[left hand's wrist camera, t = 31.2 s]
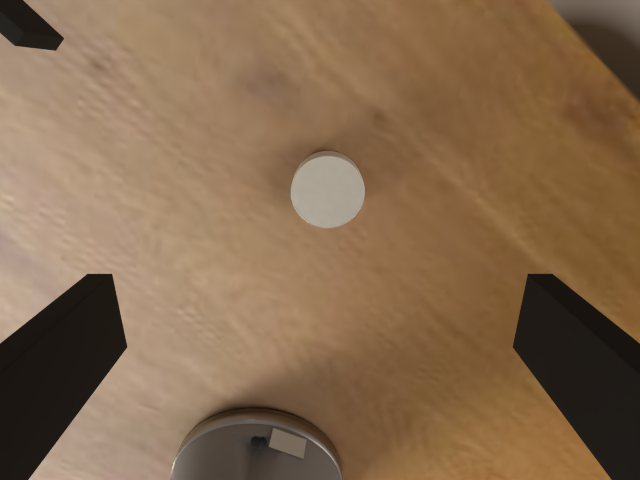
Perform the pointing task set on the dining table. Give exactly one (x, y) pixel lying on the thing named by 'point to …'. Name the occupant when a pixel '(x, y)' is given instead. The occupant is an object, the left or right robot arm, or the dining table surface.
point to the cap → (327, 189)
